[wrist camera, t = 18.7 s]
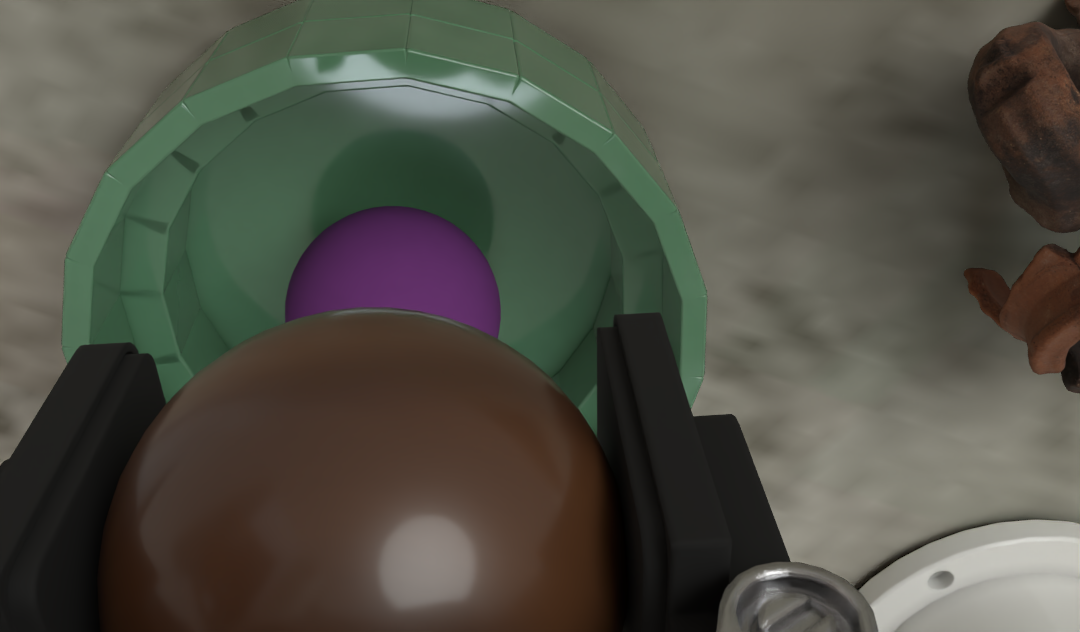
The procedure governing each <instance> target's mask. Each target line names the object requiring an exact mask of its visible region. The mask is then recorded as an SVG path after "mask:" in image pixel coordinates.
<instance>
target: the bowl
mask: <svg viewBox="0 0 1080 632" xmlns="http://www.w3.org/2000/svg"><path fill="white" fill-rule="evenodd" d="M382 206H403V207H412V208H416V209H420V210H424V211H427V212H430V213H432V214H435V215H438V216H440V217H442V218H444V219H446V220H447V221H449V222H451V223H452V224H454V225H455V226H457V227H458V228H460V229H461V230H462V231H463V232H464V233H465V234H466V235H468V236H469V237H470V238H471V240H472V241H473V242H474V243H475V244H476V245H477V246H478V248H479V249H480V250H481V252H482V253H483V255H484V256H485V258H486V259H487V261H488V263H489V265H490V267H491V269H492V272H493V274H494V277H495V280H496V283H497V286H498V290H499V297H500V305H501V321H500V328H499V335H498V339H499V340H500V341H502V342H504V343H506V344H507V345H509V346H510V347H512V348H513V349H515V350H516V351H518V352H519V353H521V354H522V355H524V356H525V357H527V358H528V359H530V360H531V361H532V362H533V363H535V364H536V365H537V366H538V367H539V368H540V369H542V370H543V371H544V372H545V373H546V374H547V375H548V376H550V377H551V378H552V379H553V381H554V382H555V383H556V384H557V385H558V386H559V387H560V388H561V390H562V391H563V392H564V393H565V394H566V395H567V396H568V398H569V399H570V400H571V401H572V402H573V403H574V404H575V406H576V407H577V408H578V409H579V410H580V412H581V413H582V415H583V416H584V418H585V419H586V421H587V422H588V424H589V426H590V427H591V429H592V430H593V432H594V434H595V435H596V437H597V329H598V327H613V319H614V315H618V314H636V313H654V312H659V313H660V314H661V316H662V319H663V322H664V325H665V328H666V332H667V335H668V338H669V341H670V344H671V348H672V351H673V354H674V357H675V360H676V364H677V367H678V370H679V373H680V376H681V380H682V383H683V386H684V389H685V392H686V396H687V399H688V402H689V405H690V408H692V405H693V403H694V401H695V398H696V396H697V393H698V391H699V389H700V386H701V384H702V381H703V377H704V374H705V350H706V323H707V290H706V287H705V284H704V281H703V279H702V276H701V273H700V270H699V267H698V264H697V261H696V258H695V255H694V253H693V250H692V247H691V244H690V241H689V238H688V235H687V232H686V230H685V227H684V224H683V221H682V218H681V215H680V212H679V210H678V207H677V205H676V203H675V200H674V198H673V196H672V193H671V191H670V189H669V186H668V184H667V182H666V179H665V177H664V175H663V172H662V170H661V167H660V165H659V163H658V160H657V158H656V156H655V153H654V151H653V149H652V146H651V144H650V142H649V139H648V137H647V135H646V132H645V130H644V128H643V127H642V125H641V124H640V122H639V121H638V120H637V119H636V117H635V116H634V115H633V114H632V112H631V111H630V110H629V109H628V108H627V106H626V105H625V104H624V103H623V101H622V100H621V99H620V98H619V96H618V95H617V94H616V93H615V91H614V90H613V89H612V88H611V87H610V85H609V84H608V83H607V82H606V80H605V79H604V78H603V77H602V75H601V74H600V73H599V72H598V70H597V69H596V68H595V67H594V66H593V64H592V63H591V62H589V61H588V60H587V58H585V57H584V56H582V55H581V54H579V53H578V52H576V51H574V50H573V49H571V48H570V47H568V46H566V45H565V44H563V43H562V42H560V41H559V40H557V39H555V38H554V37H552V36H551V35H549V34H547V33H546V32H544V31H543V30H541V29H539V28H538V27H536V26H535V25H533V24H532V23H530V22H528V21H527V20H525V19H524V18H522V17H520V16H519V15H517V14H516V13H514V12H512V11H509V10H508V9H506V8H502V7H498V6H494V5H490V4H486V3H482V2H478V1H474V0H298V1H296V2H293V3H291V4H289V5H286V6H284V7H282V8H279V9H277V10H275V11H272V12H270V13H267V14H265V15H263V16H260V17H258V18H256V19H253V20H251V21H248V22H246V23H244V24H241V25H239V26H237V27H234V28H232V29H231V30H230V31H227V32H226V33H225V34H224V35H222V36H221V37H220V38H219V39H218V40H217V41H216V42H215V43H214V44H213V45H212V46H211V47H210V48H209V49H207V50H206V51H205V52H204V53H203V54H202V55H201V56H200V57H199V58H198V59H197V60H196V61H195V62H194V63H192V64H191V65H190V66H189V67H188V68H187V69H186V70H185V71H184V72H183V73H182V74H181V75H180V76H179V77H177V78H176V79H175V80H174V81H173V82H172V83H171V84H170V85H169V86H168V87H167V88H166V89H165V90H164V91H163V93H162V94H161V95H160V97H159V98H158V99H157V101H156V102H155V104H154V105H153V106H152V108H151V109H150V110H149V112H148V113H147V114H146V116H145V117H144V119H143V120H142V121H141V123H140V124H139V126H138V127H137V128H136V130H135V131H134V133H133V134H132V135H131V137H130V138H129V139H128V141H127V142H126V143H125V145H124V146H123V148H122V149H121V150H120V152H119V153H118V154H117V156H116V157H115V159H114V160H113V161H112V163H111V164H110V165H109V167H108V168H107V170H106V171H105V172H104V174H103V176H102V178H101V180H100V182H99V185H98V187H97V189H96V191H95V193H94V195H93V197H92V199H91V202H90V204H89V206H88V208H87V210H86V212H85V214H84V216H83V219H82V221H81V223H80V225H79V227H78V229H77V231H76V234H75V236H74V238H73V240H72V242H71V244H70V246H69V248H68V251H67V253H66V258H65V261H64V287H63V312H62V338H61V344H62V350H63V353H64V356H65V359H66V362H67V364H68V363H69V361H70V359H71V358H72V356H73V354H74V353H75V351H76V350H77V349H78V348H79V346H81V345H89V344H107V343H124V342H131V343H132V344H134V345H135V347H136V348H137V350H138V352H139V354H142V353H149V354H150V355H152V357H153V359H154V361H155V364H156V367H157V371H158V375H159V379H160V382H161V386H162V390H163V394H164V398H165V401H166V404H167V403H168V402H169V401H170V399H171V398H172V397H173V396H174V395H175V394H176V393H177V392H178V391H179V390H180V389H181V388H182V387H183V386H184V385H185V384H186V383H187V382H188V381H189V380H190V379H191V378H192V377H193V376H194V375H196V374H197V373H198V372H199V371H200V370H202V369H203V368H204V367H206V366H207V365H209V364H210V363H212V362H213V361H214V360H216V359H217V358H219V357H220V356H221V355H223V354H224V353H226V352H227V351H229V350H230V349H231V348H233V347H234V346H236V345H237V344H239V343H241V342H243V341H245V340H247V339H249V338H251V337H253V336H254V335H256V334H258V333H260V332H262V331H264V330H267V329H270V328H273V327H275V326H278V325H281V324H283V323H285V301H286V295H287V290H288V286H289V282H290V279H291V276H292V273H293V271H294V269H295V267H296V265H297V263H298V261H299V259H300V258H301V256H302V254H303V253H304V251H305V250H306V249H307V247H308V246H309V245H310V244H311V243H312V241H313V240H314V239H315V238H316V237H317V236H318V235H319V234H320V233H321V232H322V231H324V230H325V229H326V228H328V227H329V226H330V225H332V224H333V223H335V222H337V221H339V220H341V219H342V218H344V217H346V216H348V215H350V214H353V213H355V212H358V211H361V210H365V209H369V208H373V207H382Z"/></svg>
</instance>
